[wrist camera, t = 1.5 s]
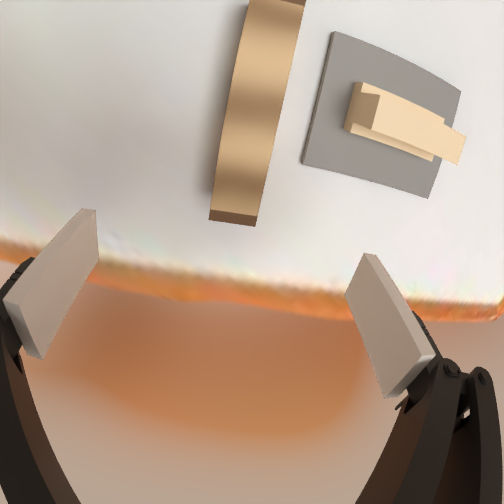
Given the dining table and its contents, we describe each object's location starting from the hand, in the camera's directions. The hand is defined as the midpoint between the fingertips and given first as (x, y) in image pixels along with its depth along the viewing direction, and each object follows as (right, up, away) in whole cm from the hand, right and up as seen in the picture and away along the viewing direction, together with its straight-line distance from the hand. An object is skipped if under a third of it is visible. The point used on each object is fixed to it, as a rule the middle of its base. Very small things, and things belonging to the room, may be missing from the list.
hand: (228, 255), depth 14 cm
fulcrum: (+15, +14, +12) cm, 24 cm away
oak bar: (+1, +14, +11) cm, 18 cm away
